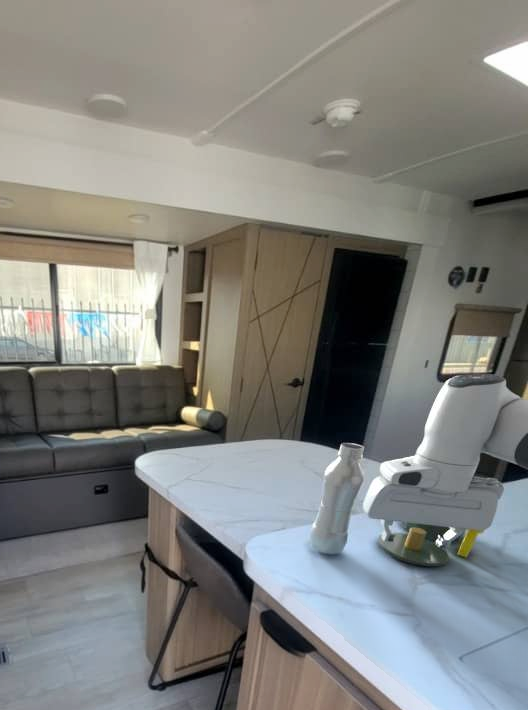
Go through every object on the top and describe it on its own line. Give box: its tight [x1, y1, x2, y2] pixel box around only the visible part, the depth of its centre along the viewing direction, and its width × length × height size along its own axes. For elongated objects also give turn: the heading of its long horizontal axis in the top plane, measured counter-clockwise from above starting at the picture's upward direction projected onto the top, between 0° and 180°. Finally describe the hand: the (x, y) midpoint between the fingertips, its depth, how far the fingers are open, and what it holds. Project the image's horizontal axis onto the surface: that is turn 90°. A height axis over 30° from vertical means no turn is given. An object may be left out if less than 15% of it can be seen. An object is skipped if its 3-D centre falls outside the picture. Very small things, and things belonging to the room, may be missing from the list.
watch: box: [457, 529, 485, 558], centre depth 75 cm, size 6×3×6 cm, turn 135°
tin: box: [401, 522, 467, 544], centre depth 83 cm, size 11×11×8 cm
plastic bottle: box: [308, 442, 366, 555], centre depth 72 cm, size 6×7×20 cm
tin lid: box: [377, 527, 449, 567], centre depth 75 cm, size 11×11×5 cm
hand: (413, 543), depth 75 cm, fingers open, 8 cm apart
